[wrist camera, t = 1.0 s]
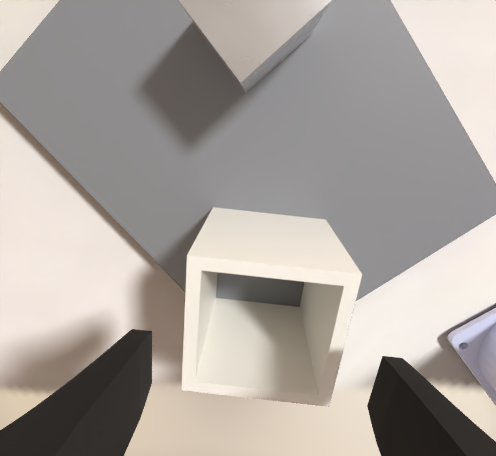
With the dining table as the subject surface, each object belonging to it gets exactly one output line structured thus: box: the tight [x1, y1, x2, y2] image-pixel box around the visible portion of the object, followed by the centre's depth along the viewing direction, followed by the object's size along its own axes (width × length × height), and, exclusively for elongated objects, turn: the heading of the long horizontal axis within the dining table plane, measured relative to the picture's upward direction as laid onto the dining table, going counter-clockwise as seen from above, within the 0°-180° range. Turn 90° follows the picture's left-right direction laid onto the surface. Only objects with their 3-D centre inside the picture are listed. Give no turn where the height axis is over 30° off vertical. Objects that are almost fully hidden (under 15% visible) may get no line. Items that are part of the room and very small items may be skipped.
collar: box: [182, 207, 362, 407], centre depth 14 cm, size 6×6×6 cm
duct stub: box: [178, 0, 332, 93], centre depth 12 cm, size 4×4×5 cm
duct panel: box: [0, 0, 496, 307], centre depth 15 cm, size 20×16×1 cm
